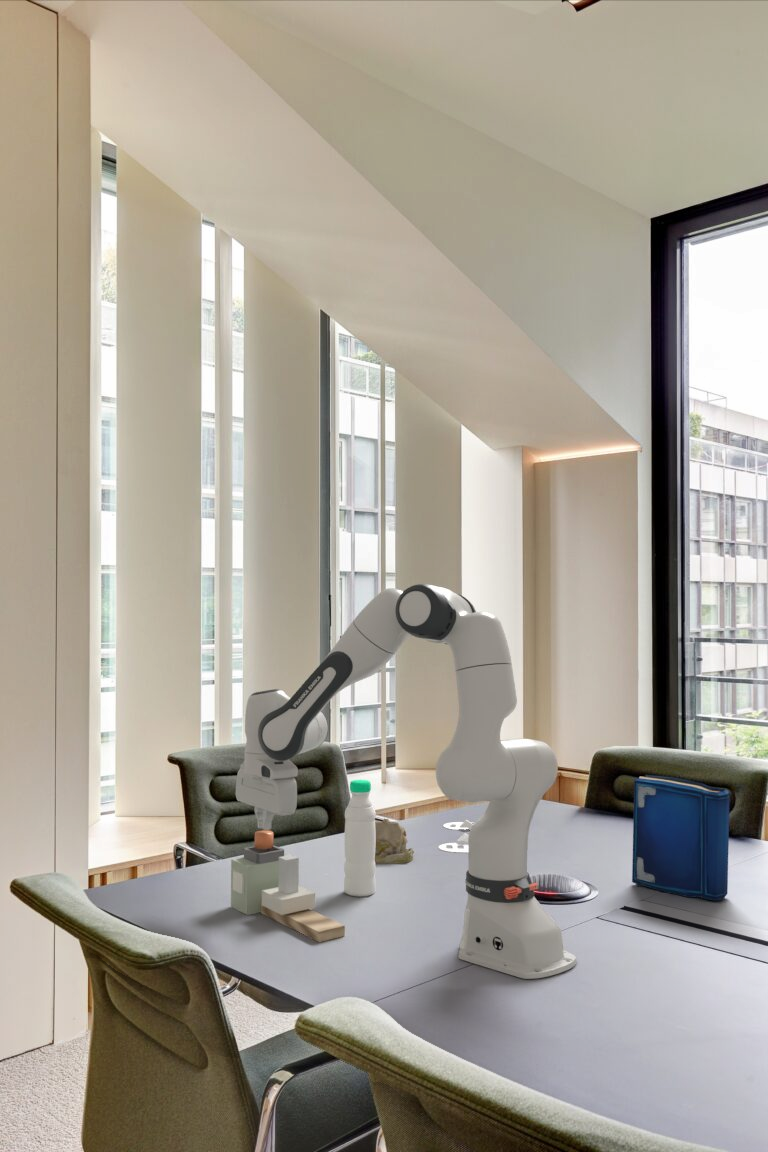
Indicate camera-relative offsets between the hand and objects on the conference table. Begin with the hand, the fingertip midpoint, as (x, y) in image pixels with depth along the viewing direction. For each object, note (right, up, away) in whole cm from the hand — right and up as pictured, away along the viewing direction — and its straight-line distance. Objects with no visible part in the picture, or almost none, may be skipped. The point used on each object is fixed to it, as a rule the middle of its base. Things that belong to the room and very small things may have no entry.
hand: (264, 828), depth 204 cm
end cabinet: (0, -16, -1) cm, 16 cm away
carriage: (+6, -14, -8) cm, 17 cm away
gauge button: (0, -4, 0) cm, 4 cm away
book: (+93, -17, +11) cm, 96 cm away
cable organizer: (+54, -19, +61) cm, 84 cm away
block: (+9, -16, -13) cm, 22 cm away
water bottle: (+20, -17, +9) cm, 28 cm away
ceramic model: (+26, -18, +39) cm, 50 cm away
